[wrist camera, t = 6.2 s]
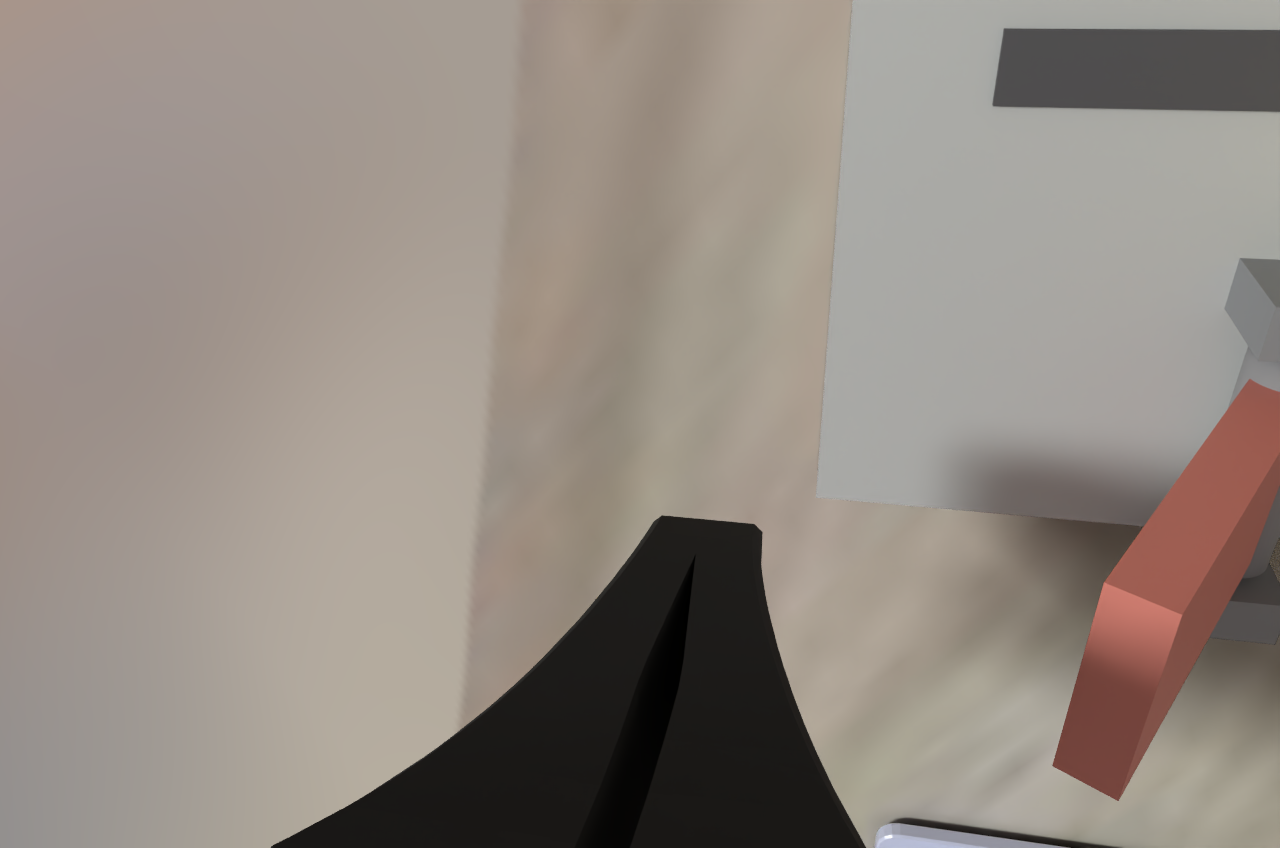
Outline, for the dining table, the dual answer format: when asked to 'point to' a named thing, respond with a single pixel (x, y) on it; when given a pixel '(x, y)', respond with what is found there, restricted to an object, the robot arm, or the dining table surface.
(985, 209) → the panel
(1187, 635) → the red paddle
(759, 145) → the dining table surface
